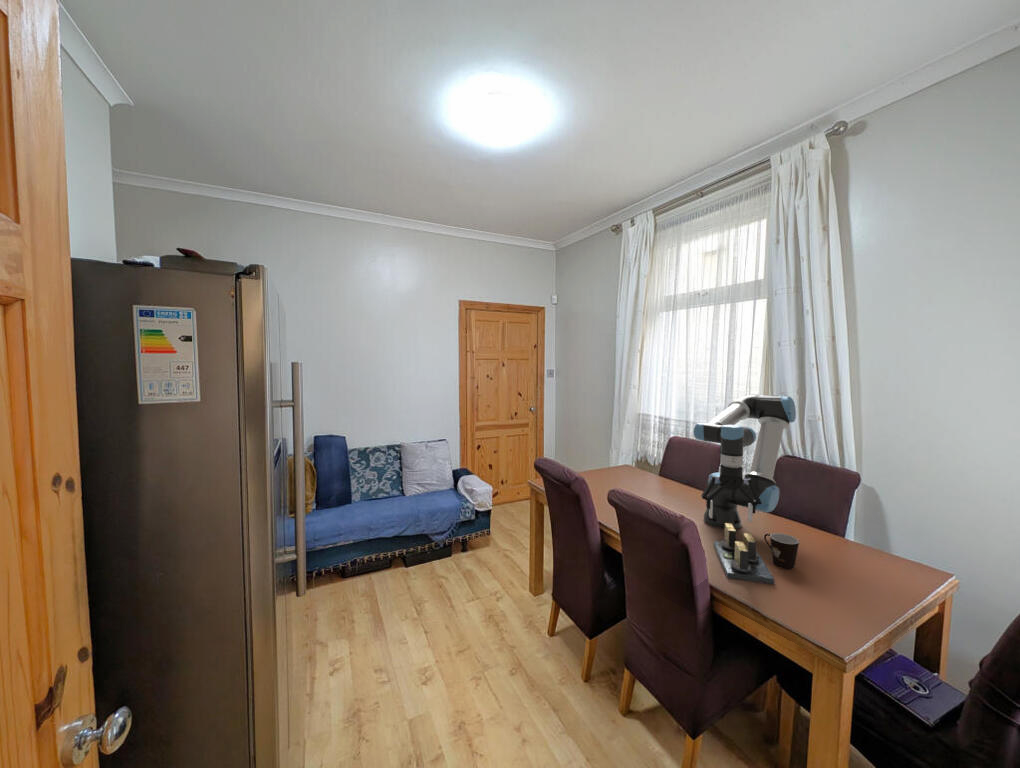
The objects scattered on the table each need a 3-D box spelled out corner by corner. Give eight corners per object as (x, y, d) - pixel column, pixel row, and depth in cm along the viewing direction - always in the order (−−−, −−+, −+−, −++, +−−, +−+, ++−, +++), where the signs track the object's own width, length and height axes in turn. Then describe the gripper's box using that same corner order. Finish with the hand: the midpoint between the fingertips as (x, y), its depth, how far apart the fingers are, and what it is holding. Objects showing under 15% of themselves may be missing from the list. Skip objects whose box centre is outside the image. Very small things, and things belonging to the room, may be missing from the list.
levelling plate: (713, 545, 155) (713, 539, 155) (753, 550, 151) (753, 544, 151) (727, 578, 132) (727, 571, 132) (774, 584, 128) (774, 577, 128)
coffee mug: (803, 572, 135) (804, 545, 134) (776, 570, 137) (776, 543, 136) (786, 555, 146) (787, 530, 146) (761, 554, 148) (762, 528, 147)
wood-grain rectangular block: (737, 552, 145) (737, 532, 144) (755, 555, 143) (755, 534, 142) (742, 562, 138) (742, 541, 137) (761, 565, 136) (762, 543, 136)
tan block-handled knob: (719, 541, 154) (719, 522, 153) (736, 543, 152) (736, 524, 151) (723, 550, 147) (723, 530, 146) (741, 552, 145) (741, 532, 145)
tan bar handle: (728, 561, 139) (729, 540, 138) (747, 564, 137) (748, 542, 136) (733, 572, 132) (734, 550, 131) (753, 575, 130) (754, 552, 129)
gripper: (697, 465, 148) (696, 518, 149) (772, 470, 140) (770, 526, 141) (694, 460, 155) (693, 511, 156) (765, 465, 147) (763, 519, 148)
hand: (730, 519), depth 149 cm, fingers open, 13 cm apart
